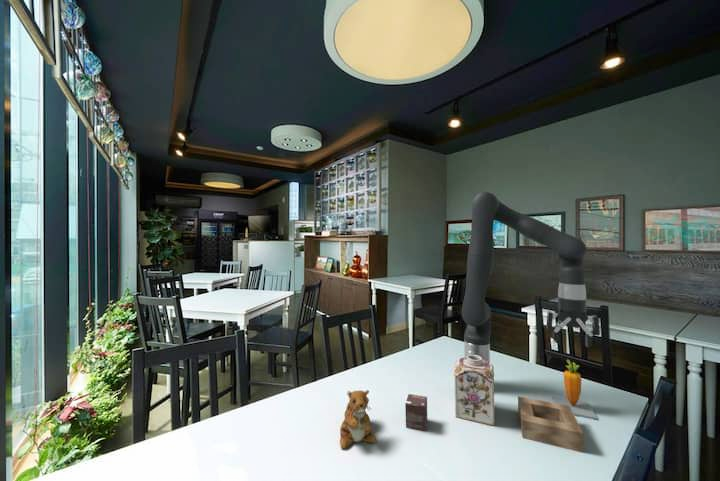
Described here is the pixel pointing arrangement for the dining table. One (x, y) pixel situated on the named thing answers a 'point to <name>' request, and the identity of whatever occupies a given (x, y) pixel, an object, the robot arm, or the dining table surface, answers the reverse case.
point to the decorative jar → (474, 389)
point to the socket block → (549, 423)
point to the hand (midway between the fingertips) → (572, 344)
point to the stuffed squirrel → (356, 420)
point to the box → (416, 412)
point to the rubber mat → (577, 407)
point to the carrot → (572, 383)
